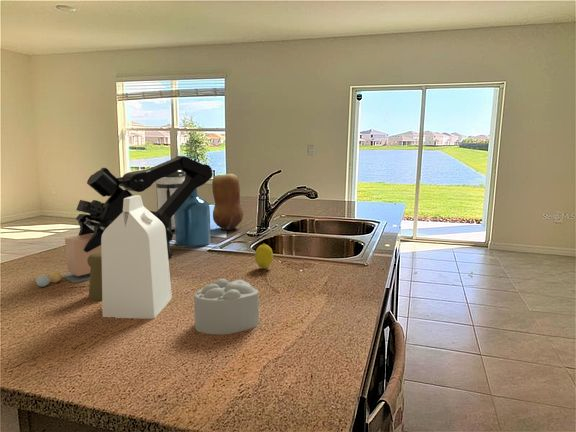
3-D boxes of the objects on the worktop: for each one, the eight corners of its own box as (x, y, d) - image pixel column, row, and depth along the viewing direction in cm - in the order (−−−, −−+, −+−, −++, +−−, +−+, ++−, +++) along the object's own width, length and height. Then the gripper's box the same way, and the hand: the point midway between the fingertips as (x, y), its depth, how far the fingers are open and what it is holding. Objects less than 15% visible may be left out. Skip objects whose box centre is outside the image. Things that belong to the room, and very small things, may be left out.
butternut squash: (218, 225, 188) (217, 172, 184) (246, 226, 186) (245, 172, 182) (208, 232, 174) (207, 174, 170) (238, 233, 173) (237, 175, 168)
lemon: (276, 267, 124) (276, 242, 123) (267, 272, 119) (267, 246, 118) (260, 265, 127) (260, 240, 125) (251, 270, 122) (251, 244, 120)
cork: (88, 301, 97) (85, 257, 95) (88, 293, 102) (84, 251, 100) (116, 297, 99) (112, 254, 98) (114, 289, 105) (111, 249, 103)
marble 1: (52, 284, 108) (51, 274, 108) (44, 288, 105) (43, 277, 105) (42, 284, 109) (41, 273, 108) (34, 287, 106) (33, 277, 105)
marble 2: (64, 280, 112) (63, 270, 111) (56, 284, 109) (55, 273, 108) (54, 280, 112) (53, 269, 111) (46, 283, 109) (45, 273, 109)
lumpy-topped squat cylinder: (263, 326, 84) (263, 287, 83) (202, 340, 78) (201, 298, 77) (245, 308, 93) (244, 273, 92) (189, 319, 87) (187, 281, 86)
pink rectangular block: (96, 265, 121) (93, 233, 119) (105, 269, 117) (103, 236, 115) (68, 271, 115) (64, 237, 113) (77, 276, 111) (74, 241, 109)
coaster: (98, 267, 123) (98, 266, 123) (113, 273, 118) (113, 272, 118) (60, 276, 115) (60, 275, 115) (74, 283, 109) (74, 282, 109)
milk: (126, 297, 100) (118, 193, 95) (171, 298, 99) (166, 193, 95) (102, 317, 88) (93, 200, 83) (154, 318, 88) (147, 200, 83)
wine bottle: (216, 245, 152) (214, 165, 147) (182, 250, 145) (178, 166, 139) (202, 238, 163) (199, 164, 158) (170, 242, 156) (166, 164, 151)
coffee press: (188, 234, 171) (185, 163, 165) (150, 233, 171) (146, 162, 166) (197, 225, 188) (195, 161, 182) (163, 225, 188) (160, 161, 183)
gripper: (79, 187, 121) (43, 228, 114) (109, 191, 109) (71, 238, 103) (107, 209, 128) (74, 249, 122) (138, 216, 116) (104, 261, 110)
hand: (80, 249), depth 114 cm, fingers closed on pink rectangular block, 6 cm apart
